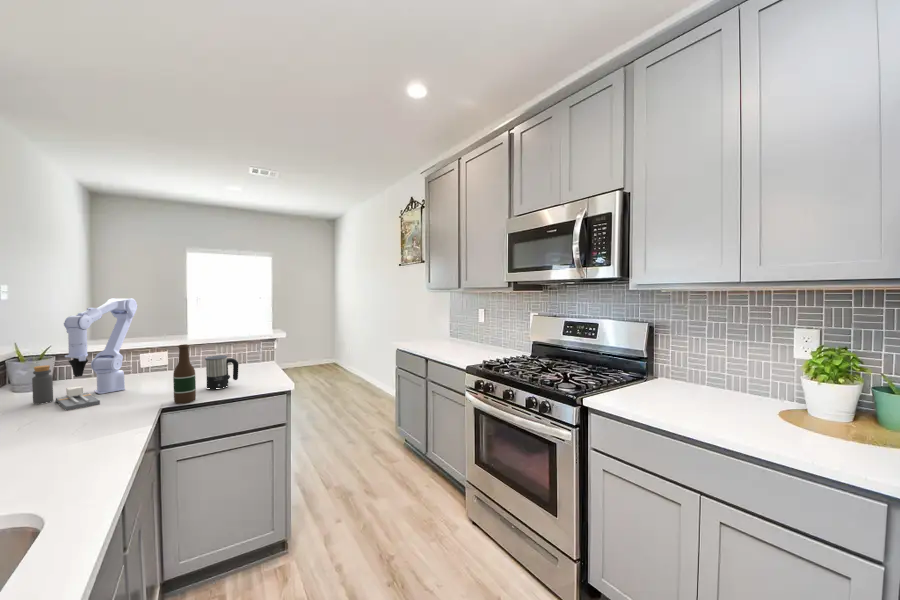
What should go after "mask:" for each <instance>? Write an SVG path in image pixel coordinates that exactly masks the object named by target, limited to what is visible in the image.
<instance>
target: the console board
mask: <svg viewBox="0 0 900 600" xmlns="http://www.w3.org/2000/svg"><path fill="white" fill-rule="evenodd" d="M55 402H56V403H57V402H58V403H59V404H60V405H59V404H58V403H57V404H58V405H59V406H61V407H62V408H63V407H64V408H65V409H66V410H65V409H64V408H63V409H64V410H65V411H70V410H69V409H71V410H76V408H77V409H80V407H82V408H86V406H87V407H91V406H92V405H93V406H97V405H100V404H101V399H98V398H97V397H95V396H93V395H92V394H91V393H89V392H83V395H77V397H73V396H71V397H68V396H67V394H66V395H64V396H60V397H58V396H57V397H55Z"/></svg>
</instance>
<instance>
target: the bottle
mask: <svg viewBox="0 0 900 600" xmlns="http://www.w3.org/2000/svg"><path fill="white" fill-rule="evenodd" d="M50 367H51V365H50V364H47V365H44V364H43V365H36V366H34V367H33V369H34V371H33V372H32V374H33V375H35V376H33V377H32V378H31V379H32V380H31V385H32V387H31V389H32V403H34V404H33V405H39V404H38V403H43V404H47V403H46V402H48V403H51V402H50V401H52V402H53V401H54V386H53V385H54V383H53V375H52V374H50V373H51V372H52V369H50Z"/></svg>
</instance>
